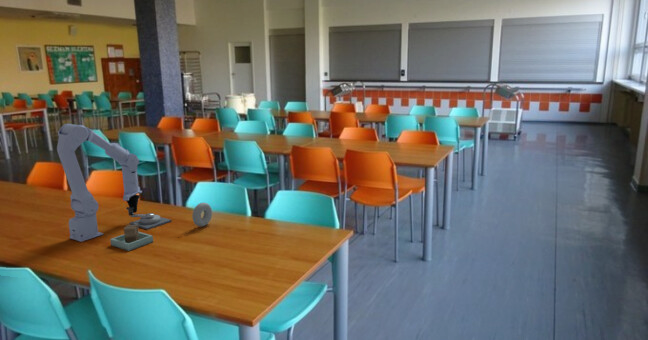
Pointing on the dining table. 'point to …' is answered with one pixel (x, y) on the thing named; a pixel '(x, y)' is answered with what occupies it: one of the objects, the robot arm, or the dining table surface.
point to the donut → (197, 214)
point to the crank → (130, 211)
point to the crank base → (163, 221)
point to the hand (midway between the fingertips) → (133, 212)
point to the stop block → (131, 233)
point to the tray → (122, 244)
